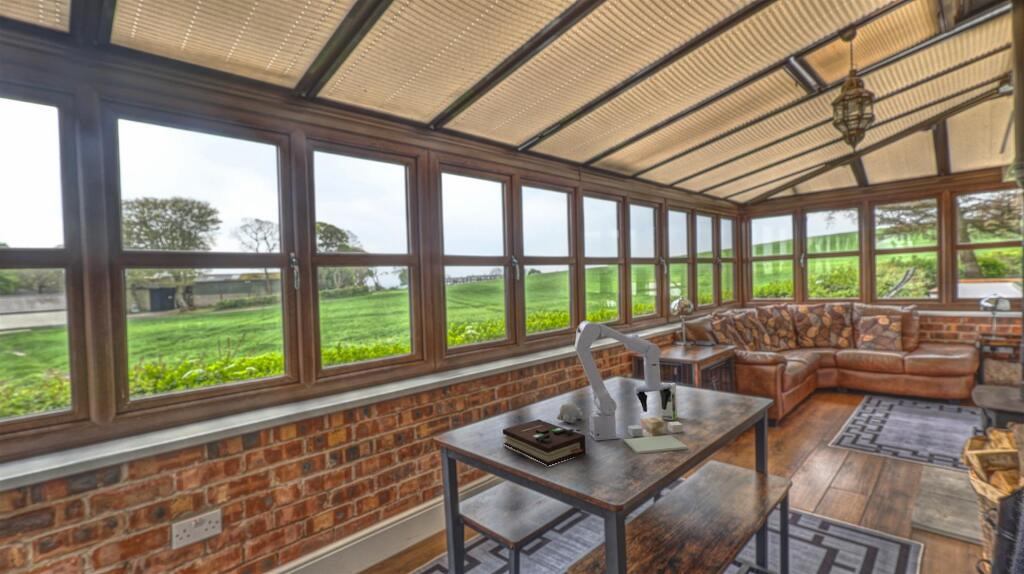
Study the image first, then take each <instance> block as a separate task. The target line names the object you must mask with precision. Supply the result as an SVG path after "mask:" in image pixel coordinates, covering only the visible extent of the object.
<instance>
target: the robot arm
mask: <svg viewBox="0 0 1024 574" xmlns="http://www.w3.org/2000/svg"><path fill="white" fill-rule="evenodd" d="M575 332H576V335H575V344H574V350H575V352H576V354H577V356H578V360H579V361H580V363H581V365H582V368H583V371H584V374H585V376H586V377H587V380H588V383H589V385H590V387H591V389H592V395H593V403H594V405H595V407H596V409H595V412H594V413H591V414H590V415H589V418H588V419H589V435H590V436H591V437H592V438H593V439H594V441H596V442H597V441H607V440H616V439H619V440H620V439H621V436H620V435H618V433H617V426H616V425H617V424H616V421H617V420H616V410H617V402H616V400H615V399H614V398H613V397H611V394H610V393H609V391H608V389H607V388H606V386H605V382H604V381H603V379H602V376H601V374H600V371H599V369H598V366H597V365H596V362H595V359H594V358H593V355H592V353H591V349H590V348H591V346H592V345H593V343H594V342H595V340H597V338H599V337H600V338H604V337H608V338H610V339H613V340H615V341H617V342H619V343H622V344H623V345H624V347H625V349H627V350H629V351H632V352H634V353H636V354H639V355H641V356H642V357H643V369H644V370H643V371H644V372H643V373H644V385H641V386H636V387H635V386H634V387H633V393H635V396H637V398H638V400H639V402H640V405H641V407H642V408H641V409H642V411H643V412H644V413H647V412H648V404H647V403H648V395H647V394H646V393H650V392H659V396H660V395H661V399H660V406H661V405H662V409H664V410H666V407H667V402H668V399H669V397H670V395H671V391H670V390H672V385H671V384H661V383H662V382H661V369H660V367H661V365H660V357H661V356H662V350H661V348H660V347H659V346H658V345H657V344H655V343H652V342H651V341H650V340H648V339H643V338H642V337H640V336H639V335H638V334H635V333H634V334H632V333H631V334H628V335H626V334H623V332H620V331H618V330H616V329H613V328H612V327H610V326H607V325H605V324H602V323H597V322H592V321H590V320H583V321H581V322H580V323H579V325H578V327H577V328H576V330H575Z"/></svg>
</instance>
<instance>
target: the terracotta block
mask: <svg viewBox="0 0 1024 574" xmlns="http://www.w3.org/2000/svg"><path fill="white" fill-rule="evenodd" d="M640 424H641V425H640V427H641V428H642V429H644V430H646V418H641V419H640Z"/></svg>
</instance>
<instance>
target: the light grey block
mask: <svg viewBox="0 0 1024 574" xmlns="http://www.w3.org/2000/svg"><path fill="white" fill-rule="evenodd" d="M667 430H668V431H669V432H671V433H672V434H676V433H677V432H678V433H683V431H684V428H683V423H681V422H679V421H678V420H677V421H668V422H667Z"/></svg>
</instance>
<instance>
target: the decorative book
mask: <svg viewBox="0 0 1024 574" xmlns="http://www.w3.org/2000/svg"><path fill="white" fill-rule="evenodd" d="M581 431H583V430H582V429H579V428H578V429H573V428H571V429H567V428H564V427H562V426H559V425H555V424H553V423H549V422H548V421H544V420H541V419H535V420H532V421H527V422H524V423H522V424H517V425H514V426H510V427H505V428H502V434H503V435H505V436H503V437H502V439H505V440H506V442H503V445H504V444H505V445H507V446H509V447H512V448H513V449H515V450H518V451H520V452H522V453H524V454H526V455H528V456H530V457H532V458H534V459H536V460H538V461H540V462H542V463H544V464H546V465H547V466H549V465H552V464H555V463H558V462H561V461H564V460H567V459H570V458H573V457H576V458H578V457H581V456H583V455H582V454H584V455H585V454H587V453H586V451H587V450H586V435H585V434H583V433H579V432H581ZM580 455H581V456H580ZM577 456H578V457H577ZM573 459H574V458H573ZM570 460H571V459H570ZM567 461H568V460H567Z"/></svg>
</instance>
